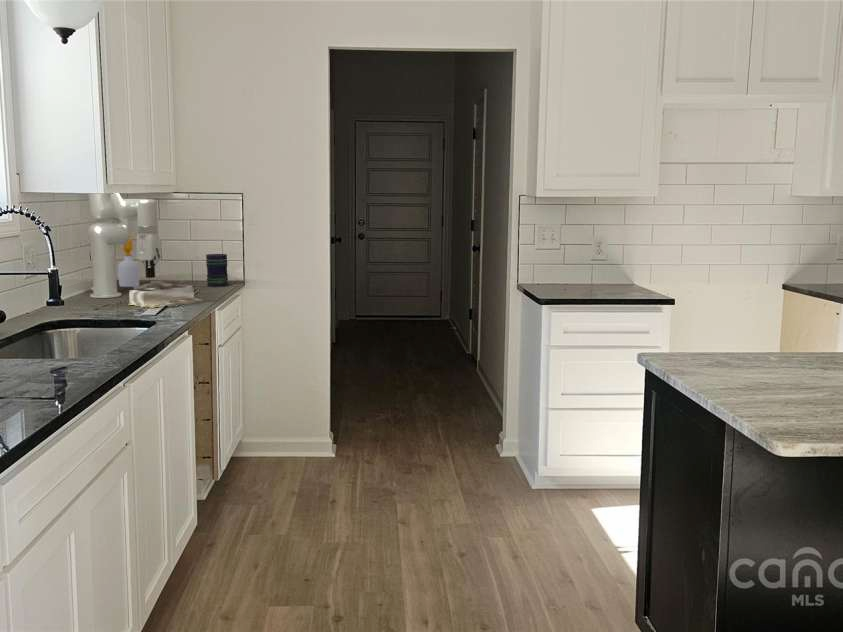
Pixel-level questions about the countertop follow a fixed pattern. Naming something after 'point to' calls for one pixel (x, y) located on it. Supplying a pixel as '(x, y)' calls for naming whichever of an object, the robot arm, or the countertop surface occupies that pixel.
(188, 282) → the rocker
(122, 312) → the countertop surface
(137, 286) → the rocker
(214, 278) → the storage jar
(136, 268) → the soap bottle
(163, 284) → the rocker middle
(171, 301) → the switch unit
